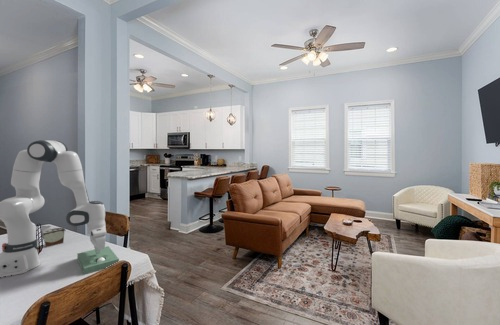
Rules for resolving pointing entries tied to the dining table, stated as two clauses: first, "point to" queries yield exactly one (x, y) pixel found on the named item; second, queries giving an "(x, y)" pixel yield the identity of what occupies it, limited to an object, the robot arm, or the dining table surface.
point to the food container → (53, 236)
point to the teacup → (45, 229)
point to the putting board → (90, 259)
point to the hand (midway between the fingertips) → (97, 252)
